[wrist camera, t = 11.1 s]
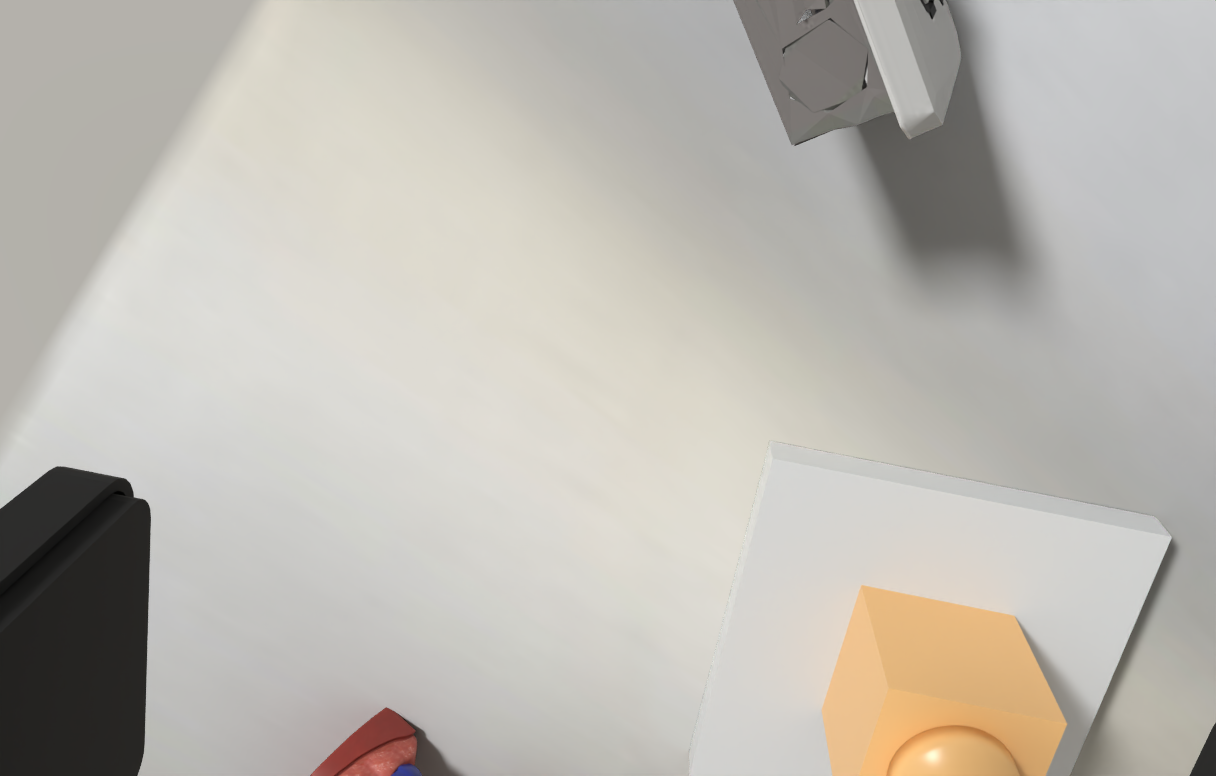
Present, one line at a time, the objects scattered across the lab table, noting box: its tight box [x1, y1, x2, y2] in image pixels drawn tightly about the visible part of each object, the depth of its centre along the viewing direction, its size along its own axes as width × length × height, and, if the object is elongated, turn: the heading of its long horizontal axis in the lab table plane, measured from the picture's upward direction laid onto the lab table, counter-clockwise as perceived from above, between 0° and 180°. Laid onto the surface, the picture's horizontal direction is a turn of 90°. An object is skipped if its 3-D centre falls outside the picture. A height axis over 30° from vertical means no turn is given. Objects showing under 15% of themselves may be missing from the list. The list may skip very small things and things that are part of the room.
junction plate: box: [689, 441, 1172, 776], centre depth 39 cm, size 14×14×6 cm
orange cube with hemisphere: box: [822, 585, 1067, 776], centre depth 37 cm, size 6×6×7 cm
